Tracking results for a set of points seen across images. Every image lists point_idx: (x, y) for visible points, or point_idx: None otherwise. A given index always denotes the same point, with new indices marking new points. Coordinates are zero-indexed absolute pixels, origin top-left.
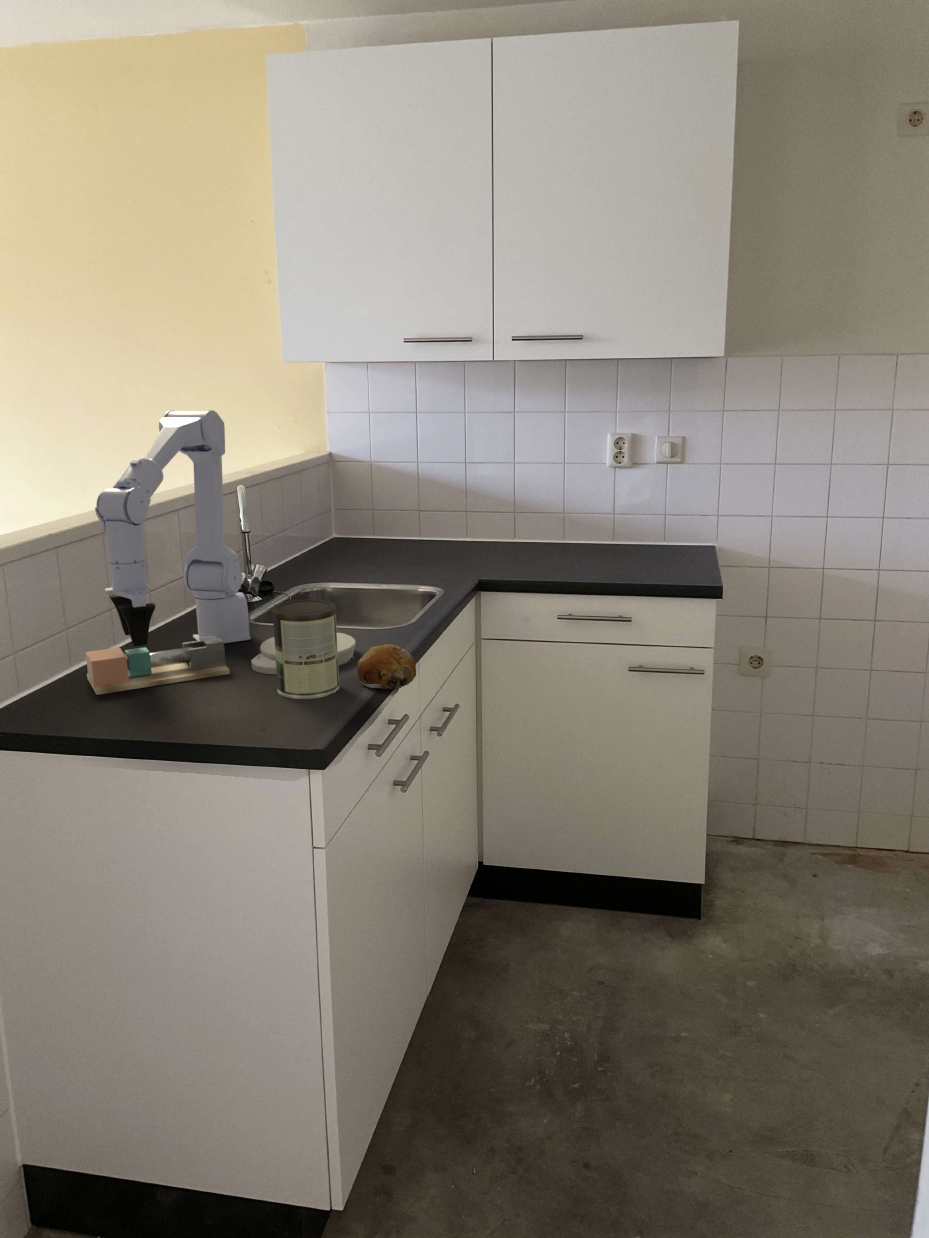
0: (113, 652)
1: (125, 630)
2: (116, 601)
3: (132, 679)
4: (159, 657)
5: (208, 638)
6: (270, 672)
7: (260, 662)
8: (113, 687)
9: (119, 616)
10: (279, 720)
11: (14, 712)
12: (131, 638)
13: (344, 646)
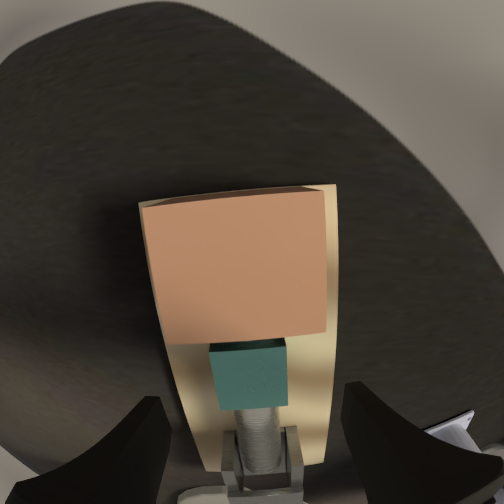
0: (253, 307)
1: (350, 399)
2: (421, 502)
3: None
4: (234, 412)
5: (279, 501)
6: (184, 493)
7: (211, 500)
8: (146, 254)
9: (394, 431)
10: (3, 423)
11: (105, 17)
12: (129, 413)
13: None
